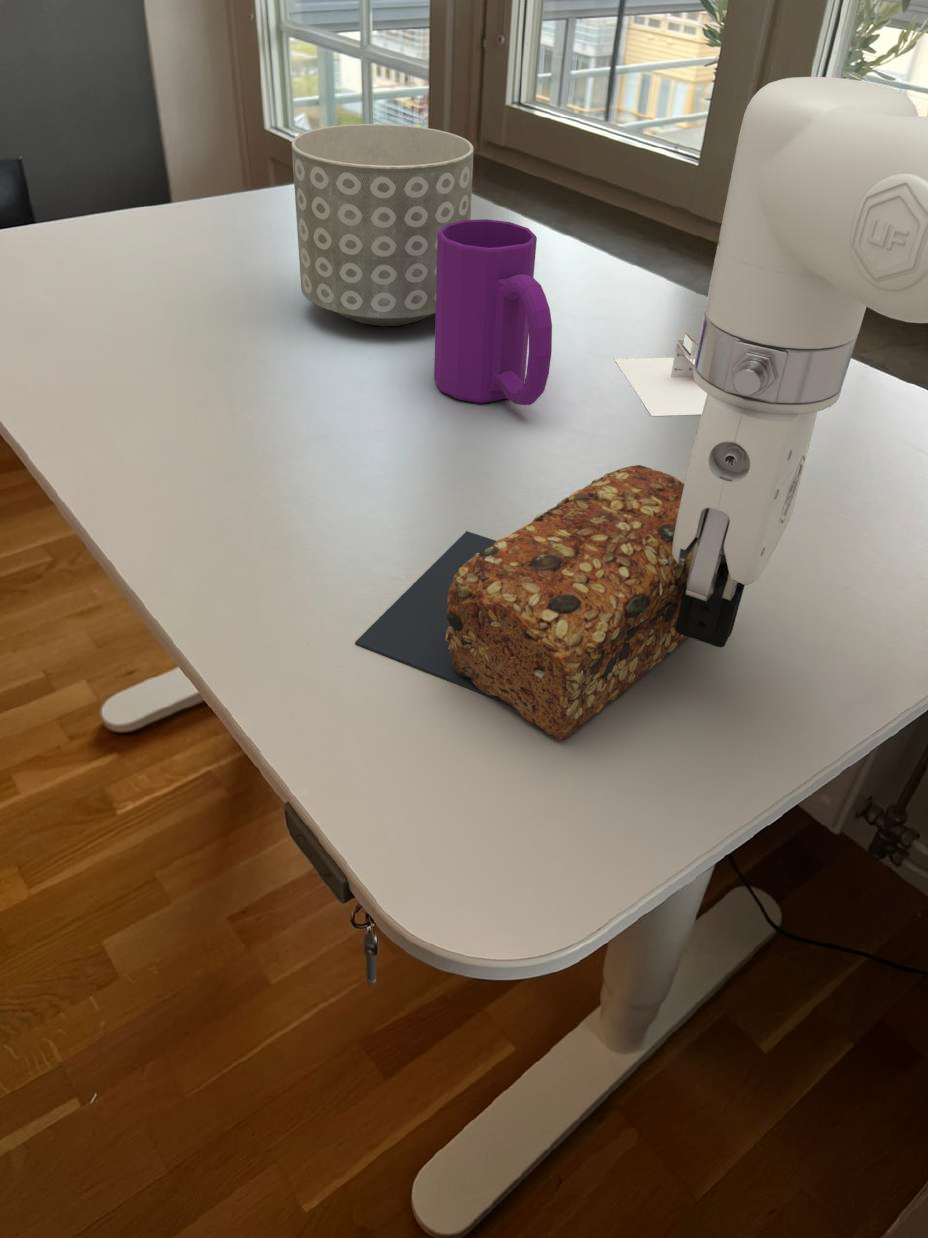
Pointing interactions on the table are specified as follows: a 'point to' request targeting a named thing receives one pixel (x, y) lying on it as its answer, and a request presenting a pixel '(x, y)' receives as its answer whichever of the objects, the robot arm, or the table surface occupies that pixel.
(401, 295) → the planter
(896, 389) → the table surface
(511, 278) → the mug
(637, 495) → the bread
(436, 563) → the corner pad
